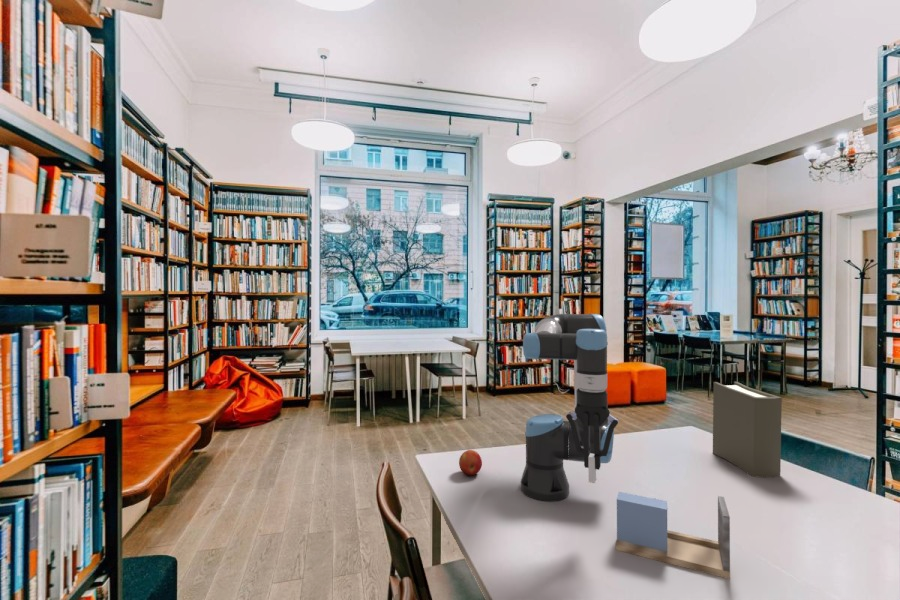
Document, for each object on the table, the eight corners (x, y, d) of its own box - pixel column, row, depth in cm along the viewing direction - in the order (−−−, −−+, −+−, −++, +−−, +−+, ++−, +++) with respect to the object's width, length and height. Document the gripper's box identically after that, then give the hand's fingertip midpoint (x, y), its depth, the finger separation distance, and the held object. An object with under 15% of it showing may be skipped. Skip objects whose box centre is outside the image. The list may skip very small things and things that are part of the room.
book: (782, 478, 139) (783, 396, 138) (755, 479, 139) (756, 396, 138) (736, 452, 161) (737, 381, 160) (712, 453, 160) (713, 382, 159)
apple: (483, 470, 147) (482, 447, 146) (480, 480, 138) (480, 456, 138) (460, 468, 148) (460, 446, 148) (457, 478, 140) (457, 455, 140)
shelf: (616, 549, 100) (615, 494, 100) (620, 528, 109) (619, 478, 109) (730, 578, 89) (729, 516, 89) (724, 553, 98) (723, 496, 98)
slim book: (616, 539, 101) (616, 499, 101) (618, 530, 105) (618, 491, 105) (667, 552, 96) (667, 509, 96) (667, 542, 100) (667, 501, 100)
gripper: (562, 389, 106) (563, 481, 106) (617, 394, 100) (618, 492, 100) (569, 384, 112) (569, 470, 112) (620, 388, 106) (621, 479, 106)
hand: (592, 480), depth 106 cm, fingers closed
